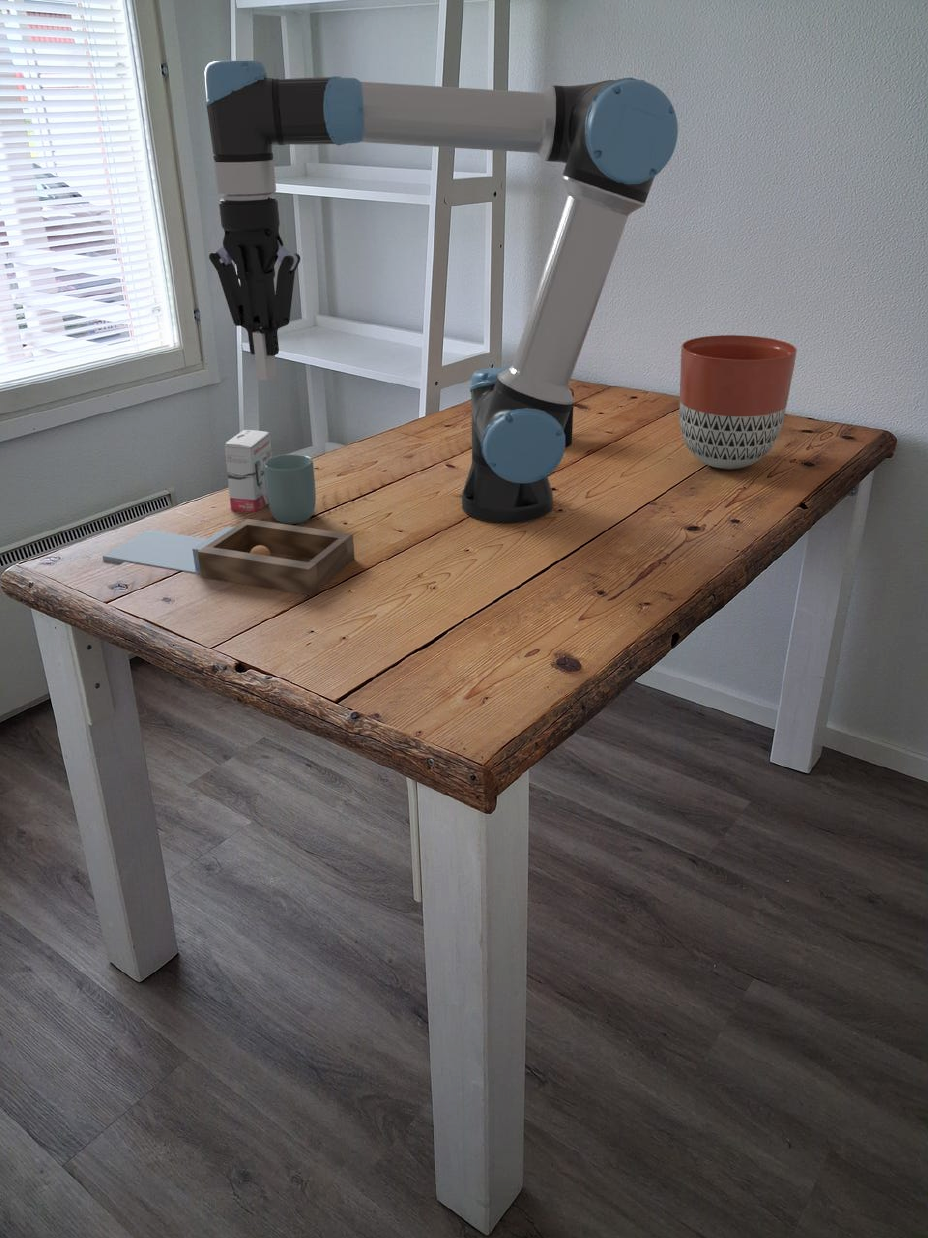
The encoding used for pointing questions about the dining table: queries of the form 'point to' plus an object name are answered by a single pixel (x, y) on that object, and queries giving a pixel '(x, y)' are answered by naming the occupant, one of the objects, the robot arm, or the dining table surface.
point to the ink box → (247, 469)
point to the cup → (290, 487)
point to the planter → (733, 397)
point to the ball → (261, 550)
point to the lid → (163, 550)
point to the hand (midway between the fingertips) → (267, 377)
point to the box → (277, 556)
